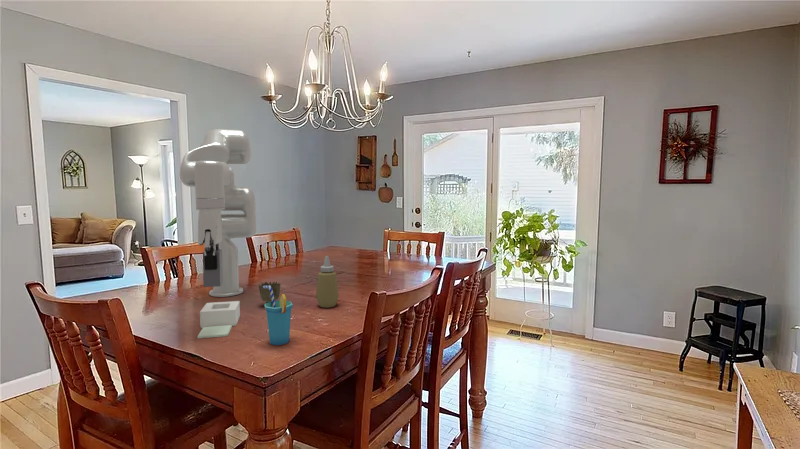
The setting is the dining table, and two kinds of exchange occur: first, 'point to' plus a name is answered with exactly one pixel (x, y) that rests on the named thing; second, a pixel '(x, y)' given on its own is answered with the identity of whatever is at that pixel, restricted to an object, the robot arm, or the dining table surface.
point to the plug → (213, 273)
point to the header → (220, 314)
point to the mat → (215, 331)
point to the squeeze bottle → (327, 285)
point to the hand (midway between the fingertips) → (212, 267)
